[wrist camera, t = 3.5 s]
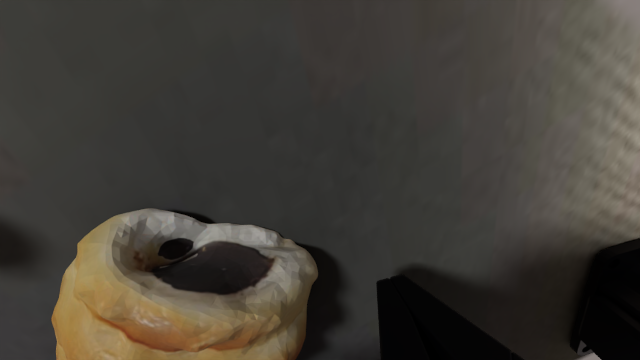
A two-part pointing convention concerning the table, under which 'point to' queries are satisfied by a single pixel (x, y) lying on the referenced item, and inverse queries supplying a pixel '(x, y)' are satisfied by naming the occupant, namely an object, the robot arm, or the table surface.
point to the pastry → (183, 292)
